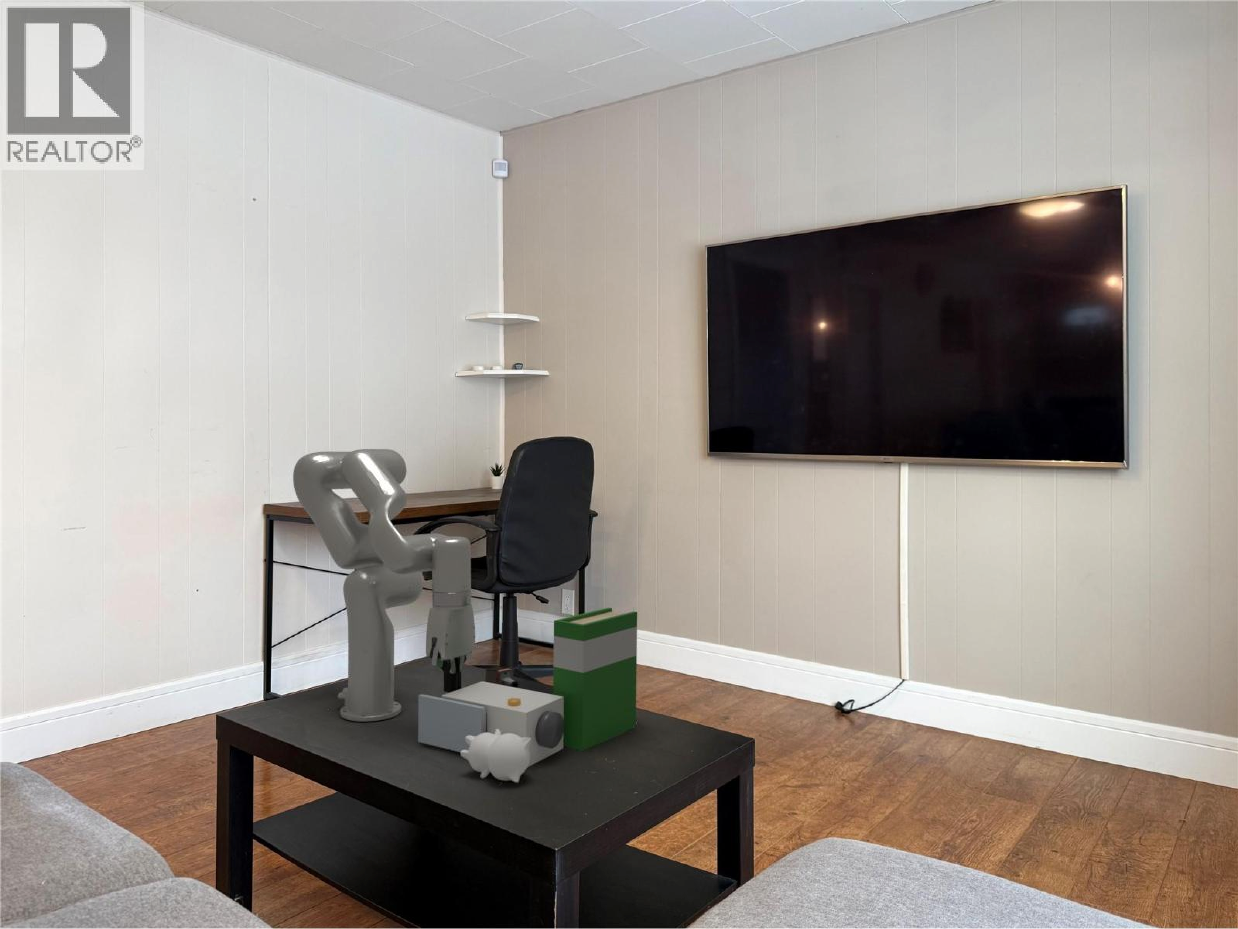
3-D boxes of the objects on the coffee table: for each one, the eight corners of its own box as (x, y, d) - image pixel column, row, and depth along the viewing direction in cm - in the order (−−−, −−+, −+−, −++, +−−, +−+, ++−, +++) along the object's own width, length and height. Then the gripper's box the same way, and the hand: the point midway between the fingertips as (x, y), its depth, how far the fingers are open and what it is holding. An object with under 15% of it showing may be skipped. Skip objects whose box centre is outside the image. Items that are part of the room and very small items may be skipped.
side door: (418, 741, 170) (418, 695, 170) (427, 738, 172) (427, 692, 172) (483, 757, 162) (483, 709, 161) (492, 753, 164) (492, 705, 164)
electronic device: (507, 708, 194) (507, 674, 194) (482, 699, 201) (482, 666, 201) (523, 705, 197) (523, 671, 197) (498, 696, 204) (498, 663, 204)
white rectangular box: (441, 747, 169) (441, 691, 169) (481, 730, 179) (481, 677, 179) (534, 770, 158) (535, 710, 157) (571, 750, 168) (572, 694, 168)
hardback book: (607, 720, 186) (608, 607, 186) (635, 727, 182) (637, 612, 181) (552, 743, 172) (553, 620, 172) (582, 751, 168) (583, 625, 167)
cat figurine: (467, 718, 157) (521, 728, 150) (500, 736, 164) (552, 746, 158) (450, 768, 153) (504, 780, 147) (484, 784, 160) (537, 796, 154)
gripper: (462, 592, 183) (462, 681, 183) (410, 603, 170) (411, 698, 170) (490, 595, 179) (491, 685, 180) (440, 606, 166) (441, 703, 167)
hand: (452, 691), depth 175 cm, fingers closed
